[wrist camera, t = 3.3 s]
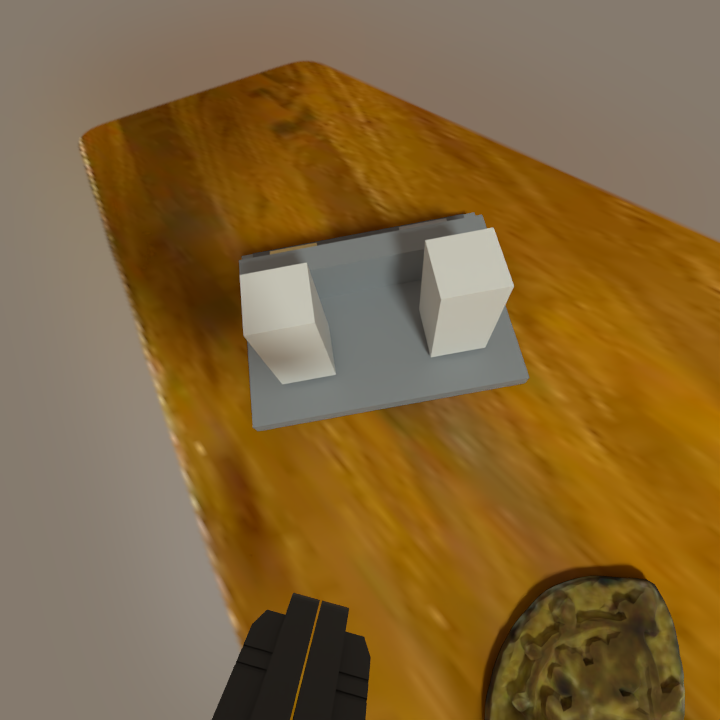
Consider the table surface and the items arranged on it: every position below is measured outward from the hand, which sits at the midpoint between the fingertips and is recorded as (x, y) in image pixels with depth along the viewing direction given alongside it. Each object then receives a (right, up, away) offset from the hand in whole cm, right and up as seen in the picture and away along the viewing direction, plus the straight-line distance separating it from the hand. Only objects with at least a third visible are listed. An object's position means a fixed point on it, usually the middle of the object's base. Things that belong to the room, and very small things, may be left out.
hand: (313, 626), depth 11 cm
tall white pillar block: (-3, +7, +21) cm, 22 cm away
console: (+2, +9, +23) cm, 25 cm away
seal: (+14, -12, +14) cm, 23 cm away
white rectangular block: (+8, +9, +21) cm, 24 cm away
